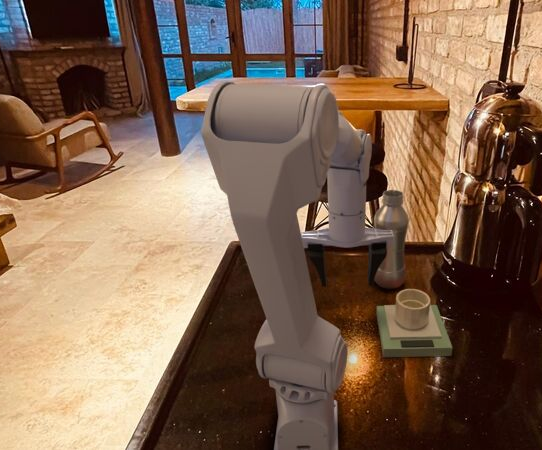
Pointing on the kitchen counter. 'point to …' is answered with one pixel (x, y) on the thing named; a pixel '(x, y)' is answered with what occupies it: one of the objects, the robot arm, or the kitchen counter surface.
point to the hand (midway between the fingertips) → (347, 282)
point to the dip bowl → (412, 308)
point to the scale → (412, 335)
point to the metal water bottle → (397, 221)
